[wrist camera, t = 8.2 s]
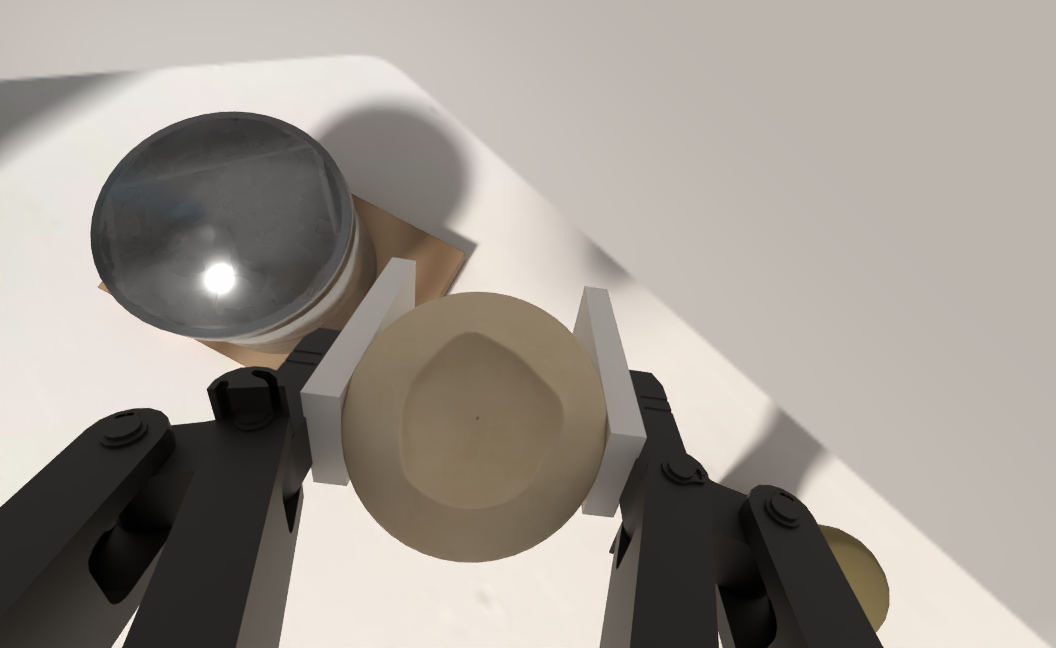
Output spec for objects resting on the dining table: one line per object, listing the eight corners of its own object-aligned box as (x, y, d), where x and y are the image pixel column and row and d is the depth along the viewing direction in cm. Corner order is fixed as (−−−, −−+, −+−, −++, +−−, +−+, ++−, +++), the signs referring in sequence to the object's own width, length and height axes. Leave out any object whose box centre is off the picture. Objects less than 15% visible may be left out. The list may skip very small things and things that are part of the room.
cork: (699, 479, 32) (804, 505, 22) (778, 507, 32) (922, 547, 22) (678, 567, 31) (780, 642, 20) (761, 597, 31) (906, 686, 20)
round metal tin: (149, 304, 30) (32, 262, 22) (263, 157, 33) (195, 74, 25) (317, 394, 30) (257, 382, 22) (416, 236, 33) (394, 178, 25)
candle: (411, 352, 18) (325, 267, 8) (548, 351, 19) (618, 270, 9) (407, 499, 17) (300, 600, 7) (553, 492, 17) (640, 580, 8)
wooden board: (115, 293, 32) (97, 287, 30) (236, 141, 35) (226, 128, 33) (365, 427, 31) (360, 427, 30) (465, 260, 34) (464, 252, 33)
